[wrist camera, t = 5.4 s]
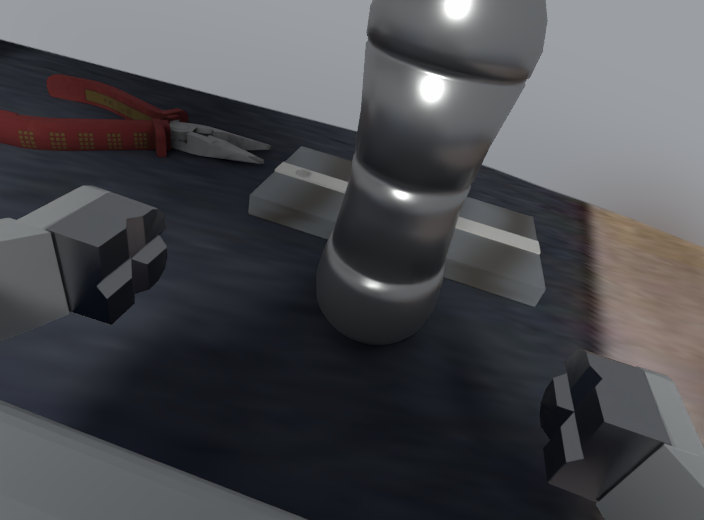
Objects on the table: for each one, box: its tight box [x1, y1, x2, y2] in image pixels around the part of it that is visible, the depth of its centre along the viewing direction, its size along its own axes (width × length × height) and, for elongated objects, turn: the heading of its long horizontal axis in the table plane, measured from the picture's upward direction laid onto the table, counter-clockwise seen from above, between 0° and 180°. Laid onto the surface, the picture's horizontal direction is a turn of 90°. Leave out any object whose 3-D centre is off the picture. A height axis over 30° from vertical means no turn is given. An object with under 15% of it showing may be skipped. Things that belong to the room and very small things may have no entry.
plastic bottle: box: [316, 0, 547, 345], centre depth 19 cm, size 6×7×20 cm
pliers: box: [0, 74, 271, 164], centre depth 36 cm, size 12×20×3 cm, turn 87°
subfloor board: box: [248, 146, 545, 307], centre depth 33 cm, size 20×10×2 cm, turn 75°
